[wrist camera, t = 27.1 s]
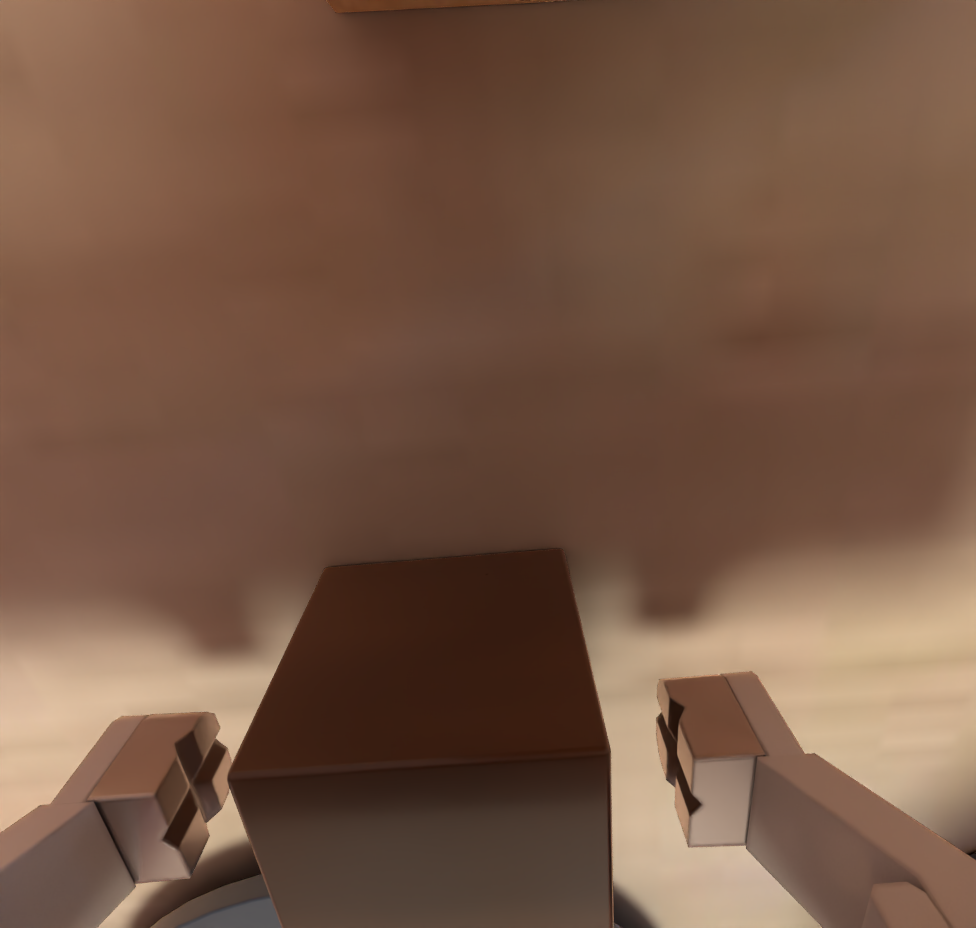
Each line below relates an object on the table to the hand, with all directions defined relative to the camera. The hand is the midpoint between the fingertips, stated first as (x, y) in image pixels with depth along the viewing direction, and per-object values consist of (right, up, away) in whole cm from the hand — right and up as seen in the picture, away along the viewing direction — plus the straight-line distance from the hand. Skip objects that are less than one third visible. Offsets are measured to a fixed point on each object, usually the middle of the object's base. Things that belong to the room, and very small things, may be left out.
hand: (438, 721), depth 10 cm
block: (0, +1, +2) cm, 2 cm away
